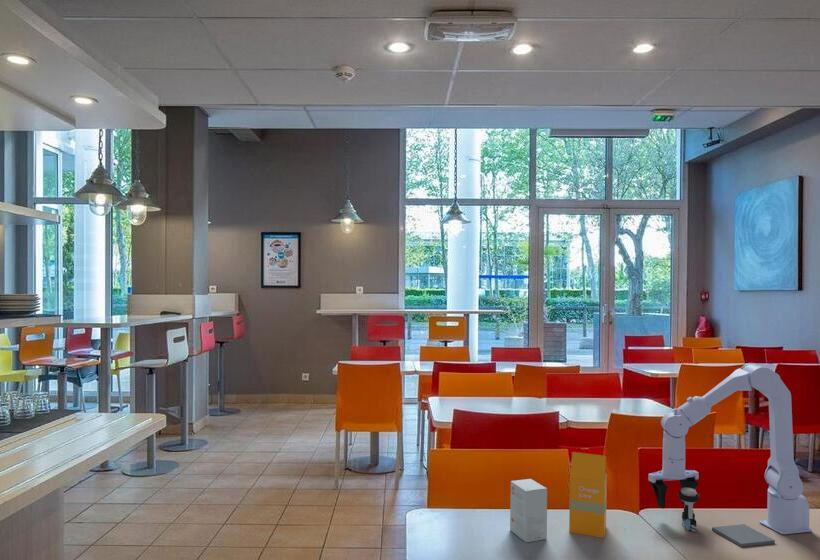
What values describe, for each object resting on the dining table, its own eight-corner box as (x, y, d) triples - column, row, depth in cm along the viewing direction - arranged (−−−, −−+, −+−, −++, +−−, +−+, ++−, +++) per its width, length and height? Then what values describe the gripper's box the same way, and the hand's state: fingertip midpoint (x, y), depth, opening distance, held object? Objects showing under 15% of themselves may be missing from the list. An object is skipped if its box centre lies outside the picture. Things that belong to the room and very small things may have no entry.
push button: (704, 534, 156) (705, 495, 156) (683, 532, 156) (683, 494, 156) (694, 523, 162) (695, 486, 162) (674, 522, 163) (675, 485, 163)
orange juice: (604, 538, 153) (605, 459, 153) (568, 532, 156) (569, 455, 156) (606, 526, 160) (607, 451, 160) (572, 520, 163) (573, 447, 163)
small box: (547, 539, 151) (548, 488, 151) (525, 543, 149) (526, 491, 149) (530, 526, 159) (530, 478, 159) (509, 530, 157) (509, 480, 157)
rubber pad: (744, 527, 160) (744, 524, 160) (774, 543, 150) (774, 540, 150) (712, 530, 158) (712, 527, 158) (741, 547, 148) (741, 543, 148)
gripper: (686, 451, 171) (686, 498, 171) (641, 454, 168) (641, 502, 168) (704, 458, 164) (703, 508, 164) (657, 462, 161) (657, 512, 161)
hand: (673, 506), depth 166 cm, fingers open, 7 cm apart
